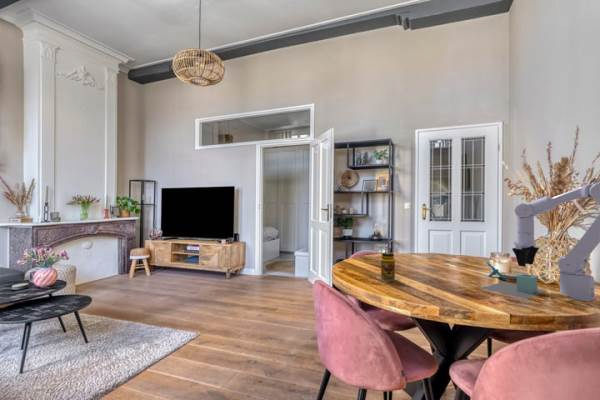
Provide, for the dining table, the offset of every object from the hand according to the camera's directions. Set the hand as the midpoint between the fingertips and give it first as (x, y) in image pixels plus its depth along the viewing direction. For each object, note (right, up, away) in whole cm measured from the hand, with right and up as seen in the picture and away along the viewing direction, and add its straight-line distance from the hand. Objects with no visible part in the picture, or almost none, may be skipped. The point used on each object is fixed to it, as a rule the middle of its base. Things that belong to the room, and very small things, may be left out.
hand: (525, 265), depth 127 cm
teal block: (-6, -8, -9) cm, 14 cm away
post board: (-10, -9, -7) cm, 15 cm away
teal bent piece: (-3, -10, +15) cm, 18 cm away
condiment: (-54, -10, +14) cm, 57 cm away
